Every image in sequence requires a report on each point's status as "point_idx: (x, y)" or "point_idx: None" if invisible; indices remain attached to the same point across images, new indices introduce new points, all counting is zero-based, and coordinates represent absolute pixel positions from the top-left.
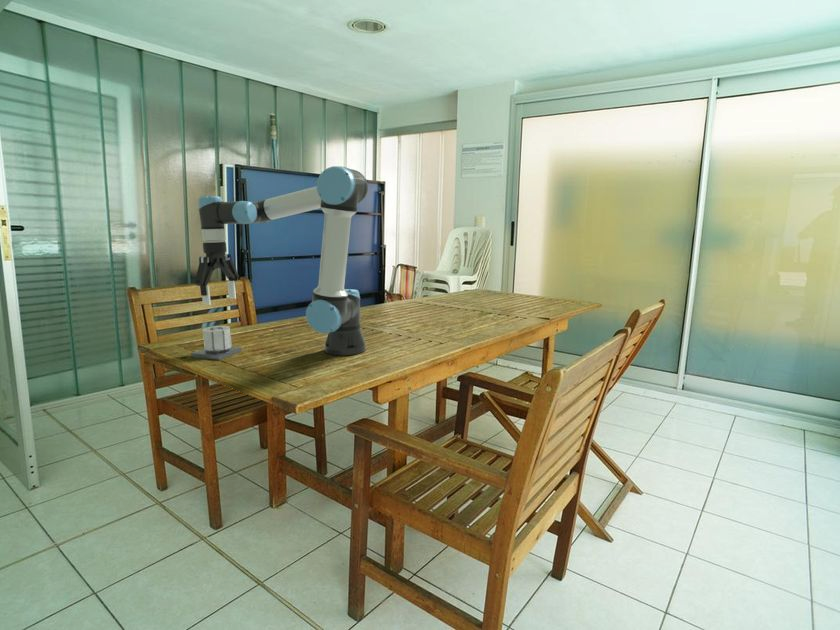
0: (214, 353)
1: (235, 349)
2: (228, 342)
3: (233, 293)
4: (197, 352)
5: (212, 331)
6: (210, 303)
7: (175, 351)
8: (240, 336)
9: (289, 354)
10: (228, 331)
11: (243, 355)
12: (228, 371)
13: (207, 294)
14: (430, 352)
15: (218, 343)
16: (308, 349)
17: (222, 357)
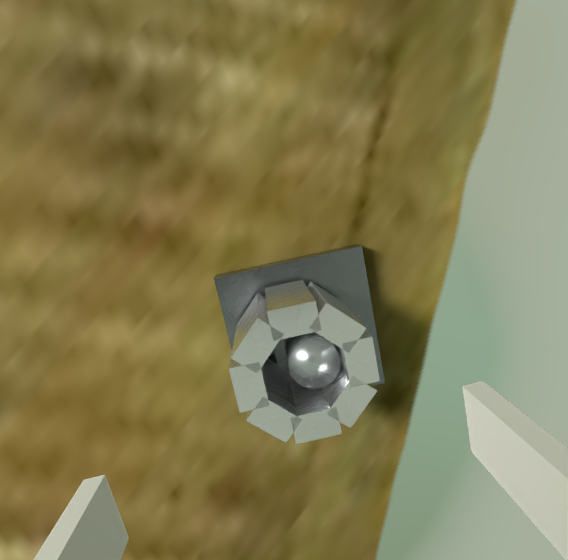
0: (344, 296)
1: (254, 270)
2: (282, 289)
3: (83, 531)
4: None
5: (361, 338)
6: (472, 391)
7: (346, 501)
8: (41, 493)
9: (127, 32)
10: (278, 305)
11: (253, 219)
12: (445, 81)
13: (564, 456)
14: None
15: (333, 299)
16: (4, 7)
17: (339, 248)
